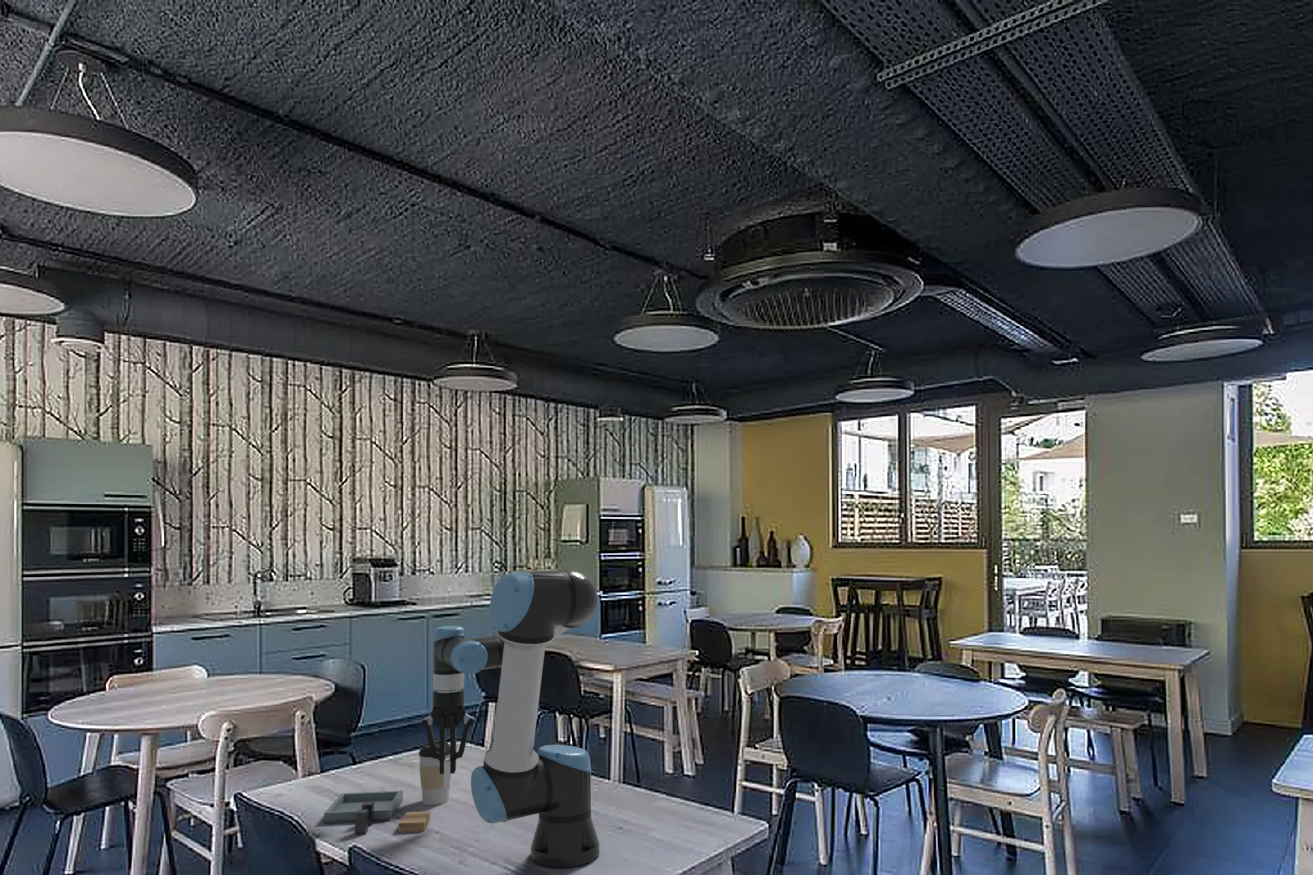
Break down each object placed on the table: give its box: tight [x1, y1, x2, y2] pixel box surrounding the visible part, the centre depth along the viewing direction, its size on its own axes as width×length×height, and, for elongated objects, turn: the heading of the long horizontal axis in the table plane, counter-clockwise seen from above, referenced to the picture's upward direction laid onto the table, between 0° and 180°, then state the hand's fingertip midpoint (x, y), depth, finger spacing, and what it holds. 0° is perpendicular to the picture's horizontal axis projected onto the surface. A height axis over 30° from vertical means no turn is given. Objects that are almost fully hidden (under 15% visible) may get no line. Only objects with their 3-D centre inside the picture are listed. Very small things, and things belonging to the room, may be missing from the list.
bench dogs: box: [354, 802, 375, 836], centre depth 214 cm, size 8×2×5 cm, turn 5°
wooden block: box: [398, 810, 431, 833], centre depth 215 cm, size 8×6×2 cm
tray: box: [323, 790, 404, 825], centre depth 227 cm, size 16×16×2 cm
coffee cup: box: [418, 741, 451, 806], centre depth 235 cm, size 9×9×15 cm
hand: (447, 786), depth 217 cm, fingers closed
